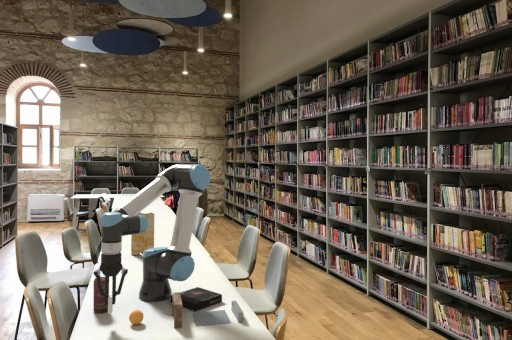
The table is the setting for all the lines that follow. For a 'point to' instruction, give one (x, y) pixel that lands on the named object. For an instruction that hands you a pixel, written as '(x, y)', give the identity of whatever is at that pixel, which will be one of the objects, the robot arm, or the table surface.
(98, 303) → the can
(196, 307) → the portable cd player
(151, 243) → the parchment
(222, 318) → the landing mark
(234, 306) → the stopper
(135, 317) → the ball
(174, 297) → the bridge
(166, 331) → the table surface
